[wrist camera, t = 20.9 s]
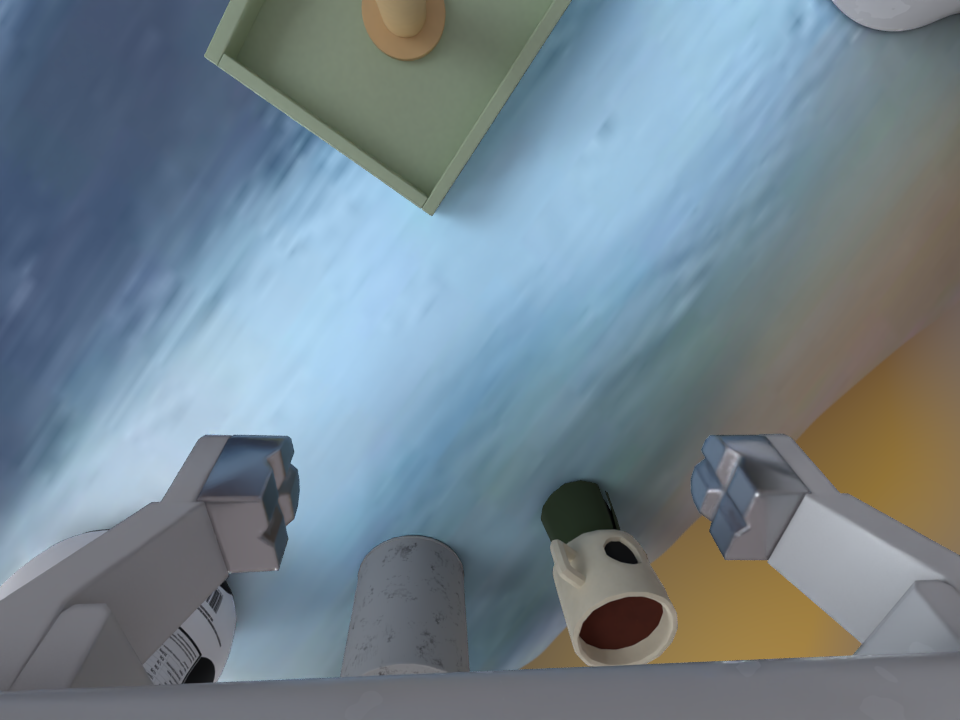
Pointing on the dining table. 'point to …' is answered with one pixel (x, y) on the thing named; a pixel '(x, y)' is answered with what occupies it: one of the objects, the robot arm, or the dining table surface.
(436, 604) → the grey tin can
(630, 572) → the character mug
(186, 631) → the milk container
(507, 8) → the tray
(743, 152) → the dining table surface
